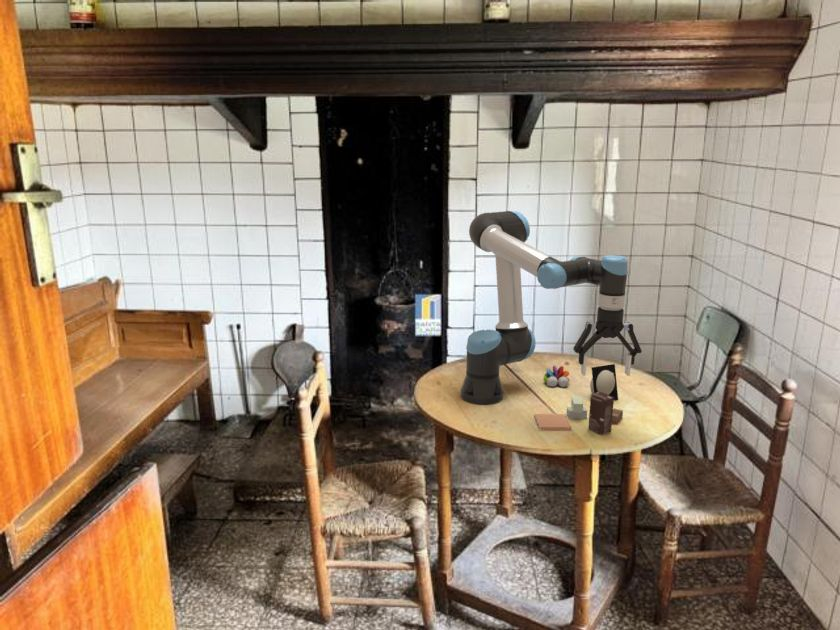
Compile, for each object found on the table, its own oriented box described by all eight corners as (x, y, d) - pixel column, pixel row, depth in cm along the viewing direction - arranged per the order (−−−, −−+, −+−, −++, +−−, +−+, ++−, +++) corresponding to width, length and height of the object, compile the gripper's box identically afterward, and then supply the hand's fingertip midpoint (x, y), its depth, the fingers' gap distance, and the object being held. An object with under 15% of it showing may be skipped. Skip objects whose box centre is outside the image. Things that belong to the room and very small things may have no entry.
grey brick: (568, 419, 210) (569, 410, 209) (566, 415, 213) (567, 407, 212) (586, 419, 210) (587, 410, 209) (584, 415, 213) (584, 407, 212)
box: (587, 429, 202) (590, 393, 199) (596, 425, 205) (599, 390, 202) (602, 436, 198) (605, 400, 194) (611, 432, 200) (615, 396, 197)
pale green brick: (582, 412, 208) (583, 404, 207) (573, 412, 208) (573, 403, 207) (580, 405, 213) (580, 397, 213) (571, 405, 214) (571, 396, 213)
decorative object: (582, 401, 229) (604, 398, 233) (600, 404, 219) (623, 400, 223) (578, 366, 229) (601, 363, 232) (596, 367, 219) (620, 364, 223)
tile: (539, 429, 201) (539, 427, 201) (534, 416, 211) (534, 413, 211) (571, 430, 201) (571, 427, 201) (564, 417, 211) (564, 414, 211)
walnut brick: (616, 425, 206) (617, 416, 205) (607, 422, 207) (607, 414, 207) (622, 418, 210) (623, 410, 210) (613, 416, 212) (614, 408, 211)
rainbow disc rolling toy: (571, 388, 236) (572, 370, 234) (545, 388, 236) (546, 369, 234) (566, 380, 244) (567, 362, 242) (541, 379, 244) (542, 362, 242)
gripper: (572, 310, 187) (567, 378, 193) (656, 310, 187) (649, 378, 193) (566, 304, 195) (562, 369, 200) (648, 304, 195) (641, 370, 200)
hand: (605, 374), depth 197 cm, fingers open, 13 cm apart
